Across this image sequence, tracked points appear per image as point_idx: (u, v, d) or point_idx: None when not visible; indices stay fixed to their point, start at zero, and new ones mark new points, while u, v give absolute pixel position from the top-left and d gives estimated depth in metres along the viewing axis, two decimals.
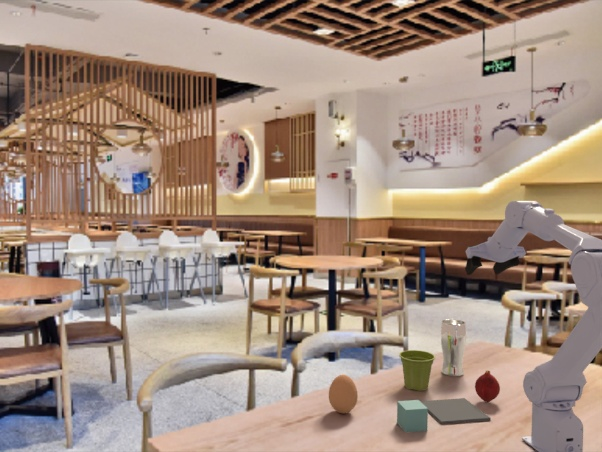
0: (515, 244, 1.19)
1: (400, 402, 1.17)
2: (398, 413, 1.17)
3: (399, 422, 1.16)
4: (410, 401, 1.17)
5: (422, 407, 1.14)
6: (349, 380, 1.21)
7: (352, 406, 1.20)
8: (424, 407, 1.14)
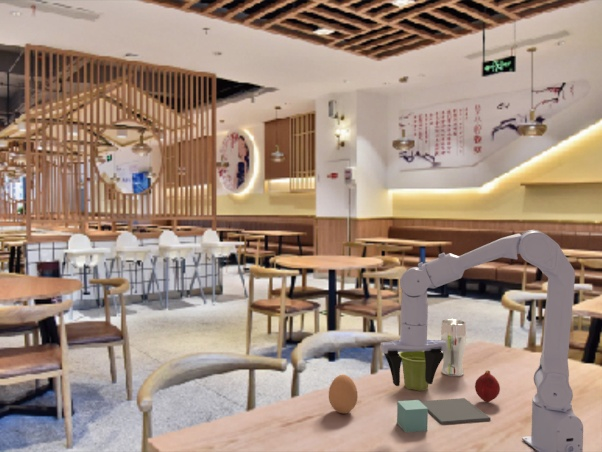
0: None
1: (400, 402, 1.17)
2: (398, 413, 1.17)
3: (399, 422, 1.16)
4: (410, 401, 1.17)
5: (422, 407, 1.14)
6: (349, 380, 1.21)
7: (352, 406, 1.20)
8: (424, 407, 1.14)
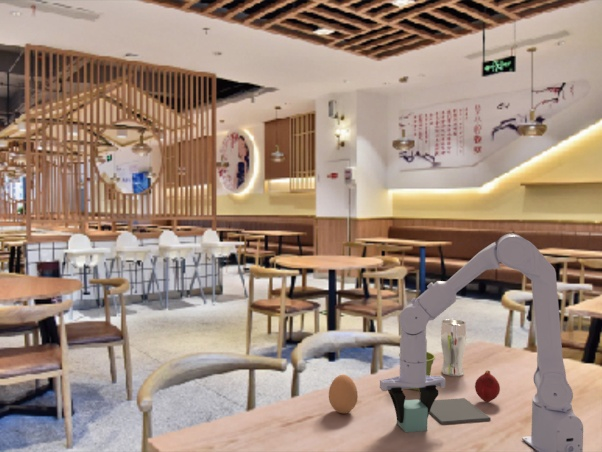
0: None
1: None
2: None
3: (399, 422, 1.16)
4: (410, 401, 1.17)
5: (422, 407, 1.14)
6: (349, 380, 1.21)
7: (352, 406, 1.20)
8: (424, 406, 1.14)
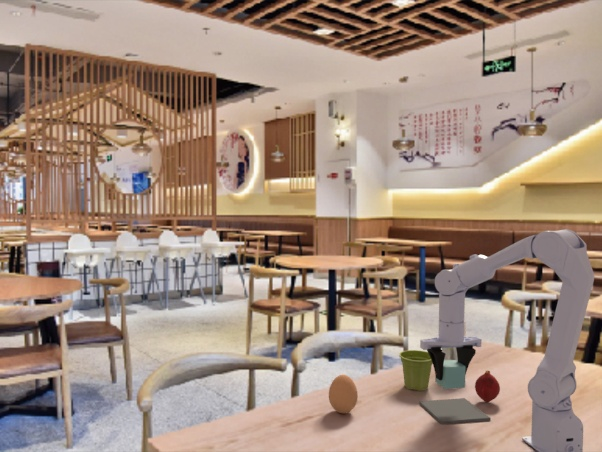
0: (463, 315, 1.20)
1: None
2: None
3: (438, 380, 1.23)
4: (448, 361, 1.24)
5: (460, 365, 1.21)
6: (349, 380, 1.21)
7: (352, 406, 1.20)
8: (462, 365, 1.21)
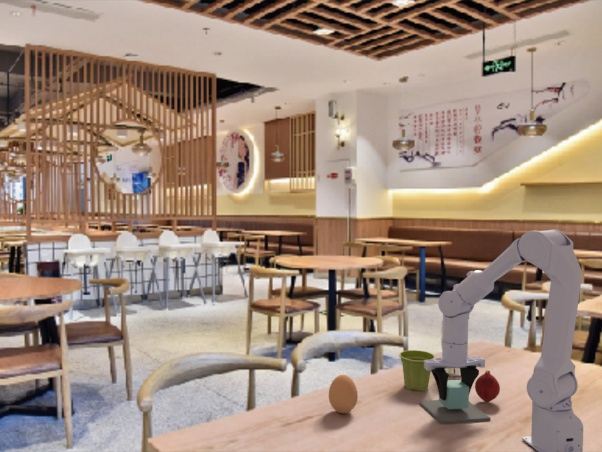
0: (466, 336, 1.21)
1: None
2: None
3: (441, 400, 1.24)
4: (451, 381, 1.25)
5: (463, 386, 1.22)
6: (349, 380, 1.21)
7: (352, 406, 1.20)
8: (465, 385, 1.22)
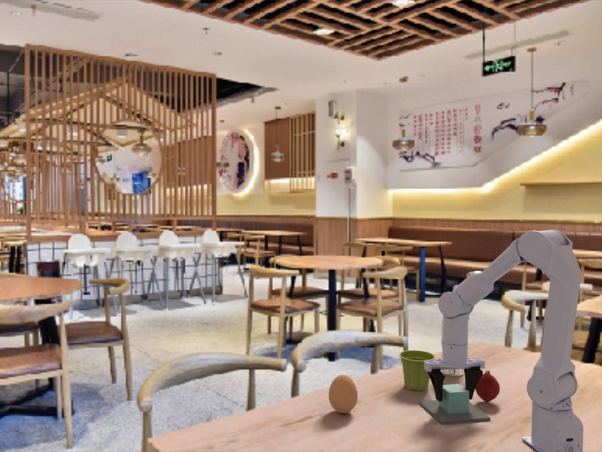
0: (466, 337, 1.21)
1: None
2: None
3: (441, 404, 1.24)
4: (451, 385, 1.26)
5: (464, 390, 1.22)
6: (349, 380, 1.21)
7: (352, 406, 1.20)
8: (466, 390, 1.22)
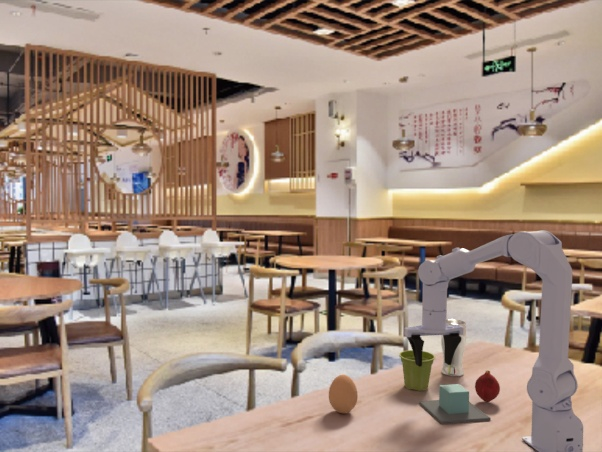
0: (445, 304, 1.25)
1: (442, 386, 1.25)
2: (440, 396, 1.25)
3: (441, 404, 1.24)
4: (451, 385, 1.26)
5: (464, 390, 1.22)
6: (349, 380, 1.21)
7: (352, 406, 1.20)
8: (466, 390, 1.22)
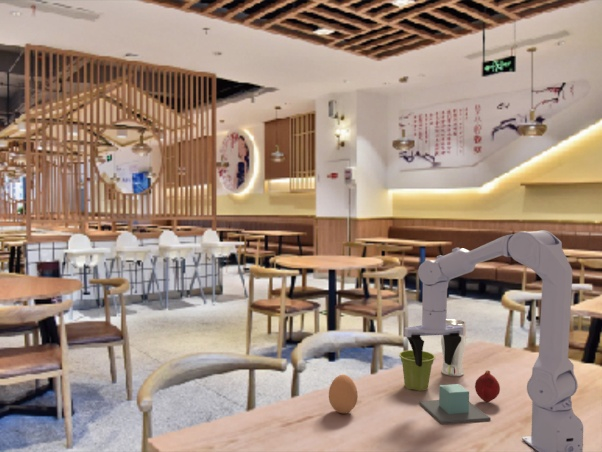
0: (445, 304, 1.25)
1: (442, 386, 1.25)
2: (440, 396, 1.25)
3: (441, 404, 1.24)
4: (451, 385, 1.26)
5: (464, 390, 1.22)
6: (349, 380, 1.21)
7: (352, 406, 1.20)
8: (466, 390, 1.22)
